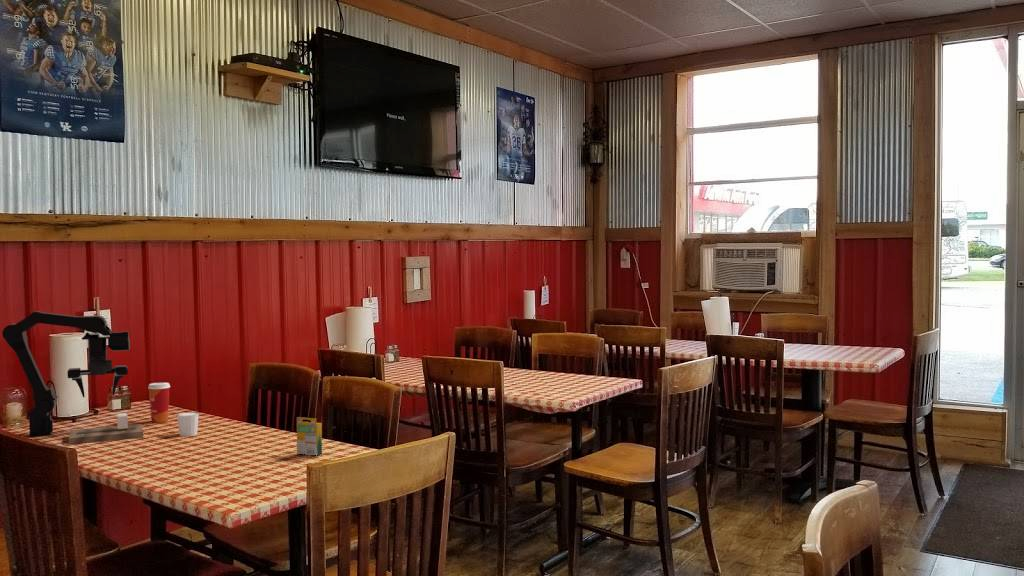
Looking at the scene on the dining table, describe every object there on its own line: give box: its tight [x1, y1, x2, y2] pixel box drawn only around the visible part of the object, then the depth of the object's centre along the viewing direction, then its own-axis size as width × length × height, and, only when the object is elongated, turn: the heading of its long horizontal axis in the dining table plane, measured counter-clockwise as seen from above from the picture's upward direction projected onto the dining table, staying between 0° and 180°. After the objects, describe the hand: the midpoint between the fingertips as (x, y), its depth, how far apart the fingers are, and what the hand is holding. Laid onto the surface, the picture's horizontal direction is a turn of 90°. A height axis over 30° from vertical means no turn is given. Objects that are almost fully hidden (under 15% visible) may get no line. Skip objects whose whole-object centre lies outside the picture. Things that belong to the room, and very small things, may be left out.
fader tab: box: [116, 412, 129, 430], centre depth 278 cm, size 3×6×5 cm, turn 27°
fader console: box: [68, 423, 144, 445], centre depth 276 cm, size 22×14×2 cm, turn 117°
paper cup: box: [147, 382, 171, 424], centre depth 301 cm, size 8×8×14 cm
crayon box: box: [296, 416, 323, 457], centre depth 250 cm, size 7×3×12 cm, turn 70°
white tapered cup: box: [176, 412, 200, 437], centre depth 279 cm, size 7×7×7 cm
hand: (98, 396), depth 286 cm, fingers open, 9 cm apart
